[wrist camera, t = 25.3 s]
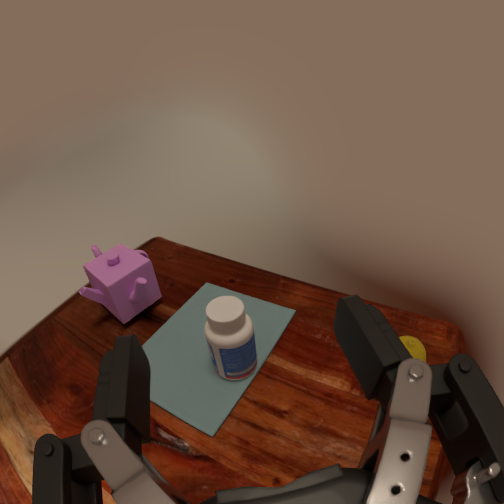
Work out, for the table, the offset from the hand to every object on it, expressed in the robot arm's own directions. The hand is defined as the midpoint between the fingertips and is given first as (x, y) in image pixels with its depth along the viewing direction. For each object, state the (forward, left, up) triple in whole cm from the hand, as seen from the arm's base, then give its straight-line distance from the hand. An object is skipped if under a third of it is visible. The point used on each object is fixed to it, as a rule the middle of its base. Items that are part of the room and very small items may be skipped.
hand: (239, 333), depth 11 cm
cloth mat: (+14, -12, -22) cm, 29 cm away
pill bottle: (+9, -11, -22) cm, 26 cm away
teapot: (+31, -12, -22) cm, 40 cm away
